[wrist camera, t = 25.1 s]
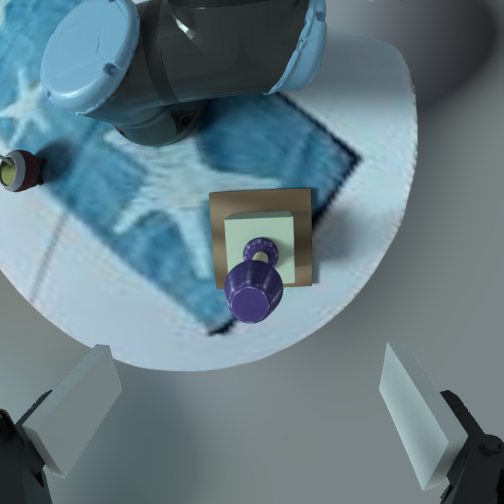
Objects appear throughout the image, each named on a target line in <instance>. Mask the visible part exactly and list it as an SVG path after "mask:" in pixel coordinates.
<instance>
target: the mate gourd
mask: <svg viewBox="0 0 504 504" xmlns="http://www.w3.org/2000/svg"><path fill="white" fill-rule="evenodd" d="M0 159H2V161H1V163H0V183H1V185H2V186H3V187H4V188H5V189H6V190H8V191H13V192H20V191H24V190H27V189H29V188H31V187H34V186H36V185H38V184H39V185H42V184H43V180H42V178H41V175H40V173H39V170H40V169H41V168H42V167H43V166H44V165H45V164H46V163H47V159H45V158H44V159H43V160H42V159H39V158H36V157H35V156H34V155H33V154H32V153H30V152H28V151H24V150H15V151H12V152H10V153H8V154H7V155H6V156H5V157H3V156H2V155H0Z"/></svg>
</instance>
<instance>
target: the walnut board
mask: <svg viewBox="0 0 504 504" xmlns="http://www.w3.org/2000/svg"><path fill="white" fill-rule="evenodd" d="M209 200H210V215H211V229H212V243H213V255H214V267H215V279H216V289H224V285H225V280H226V277H227V275H228V265H227V252H226V238H225V223H224V220H225V219H226V218H227V217H228V216H229V215H230V214H235V213H255V212H278V211H290V213H291V215H292V216H293V231H294V273H295V283H283V287H301V286H312V220H311V188H301V189H271V190H249V191H230V192H214V193H209Z"/></svg>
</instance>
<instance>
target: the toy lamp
mask: <svg viewBox="0 0 504 504" xmlns="http://www.w3.org/2000/svg"><path fill="white" fill-rule="evenodd" d="M278 258H279V252H278V248H277V246H276V245H275V243H274V242H273V241H271V240H270V239H268V238H264V237H258V238H254V239H252V240H250V241H249V242H248V243H247V244H246V246H245V248H244V251H243V259H244V262H241V263H239V264H238V265H236V266H235V267H233V268H232V269H231V270H230V272H229V274H228V275H227V277H226V280H225V285H224V291H225V296H226V300H227V303H228V306H229V309H230V311H231V313H232V314H233V316H234V317H235V318H237V319H238V320H239V321H242V322H244V323H250V324H251V323H257V322H260V321H262V320H264V319H265V318H267V317H268V316H269V315H270V314H271V313H272V312H273V310H274V309H275V308H276V307H277V306H278V304H279V303H280V301H281V298H282V295H283V282H282V279H281V276H280V275H279V273H278V272H277V271H276V269H275V268H274V267H275V265H276V264H277V262H278Z"/></svg>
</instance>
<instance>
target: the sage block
mask: <svg viewBox="0 0 504 504" xmlns="http://www.w3.org/2000/svg"><path fill="white" fill-rule="evenodd" d="M224 223H225V238H226V252H227V265H228V274H229V272H230V270H231V269H232V268H233V267H235V266H236V265H238V264H239V263H241V262H244V259H243V251H244V248H245V246H246V244H247V243H248V242H249V241H250V240H252V239H254V238H258V237H264V238H268V239H270V240H271V241H273V242H274V243H275V245H276V246H277V248H278V252H279V258H278V262H277V264H276V265H275V267H274V268H275V269H276V271H277V272H278V273H279V275H280V276H281V279H282V282H283V283H295V273H294V231H293V216H292V215H291V213H290V211H278V212H255V213H235V214H230V215H229V216H228V217H227V218H226V219H225V220H224Z"/></svg>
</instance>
